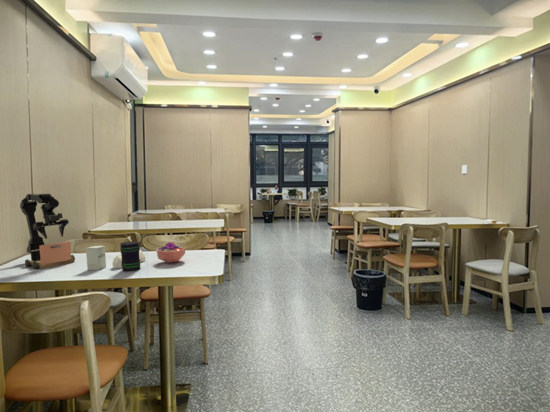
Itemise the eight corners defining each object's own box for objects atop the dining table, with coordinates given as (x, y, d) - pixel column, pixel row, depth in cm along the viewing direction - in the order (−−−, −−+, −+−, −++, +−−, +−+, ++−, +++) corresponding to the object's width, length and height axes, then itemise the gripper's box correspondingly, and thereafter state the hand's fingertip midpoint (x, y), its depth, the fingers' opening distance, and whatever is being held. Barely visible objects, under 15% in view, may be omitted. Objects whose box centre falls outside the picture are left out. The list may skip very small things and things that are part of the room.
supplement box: (98, 270, 232) (97, 247, 231) (87, 270, 233) (85, 247, 232) (106, 267, 239) (105, 245, 238) (95, 267, 240) (93, 245, 239)
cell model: (155, 266, 235) (154, 246, 234) (157, 260, 254) (156, 241, 253) (185, 264, 238) (184, 244, 237) (186, 257, 258) (185, 239, 257)
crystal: (134, 253, 258) (107, 261, 236) (142, 248, 256) (115, 255, 233) (140, 264, 257) (113, 273, 235) (148, 258, 255) (121, 267, 232)
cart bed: (24, 266, 252) (23, 259, 252) (62, 259, 270) (62, 252, 270) (37, 269, 241) (36, 261, 241) (76, 262, 259) (75, 255, 259)
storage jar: (140, 267, 236) (138, 240, 235) (141, 270, 226) (139, 243, 225) (121, 269, 232) (119, 242, 231) (121, 272, 223) (119, 245, 222)
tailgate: (40, 264, 244) (39, 245, 243) (70, 259, 257) (68, 241, 256) (42, 264, 242) (40, 245, 242) (71, 259, 256) (70, 241, 255)
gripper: (37, 210, 239) (43, 235, 237) (69, 207, 254) (75, 231, 252) (29, 216, 246) (36, 241, 244) (62, 213, 261) (68, 237, 258)
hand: (54, 237), depth 249 cm, fingers open, 9 cm apart
